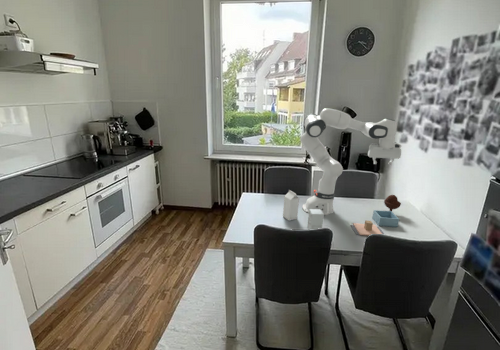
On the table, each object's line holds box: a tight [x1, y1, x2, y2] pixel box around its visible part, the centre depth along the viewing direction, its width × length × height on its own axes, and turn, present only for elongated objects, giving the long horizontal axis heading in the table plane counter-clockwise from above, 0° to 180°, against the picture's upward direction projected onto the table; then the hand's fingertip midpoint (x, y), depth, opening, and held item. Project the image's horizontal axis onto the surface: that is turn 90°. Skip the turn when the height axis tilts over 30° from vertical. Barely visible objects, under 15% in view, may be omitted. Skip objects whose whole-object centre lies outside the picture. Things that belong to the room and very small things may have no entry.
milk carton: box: [282, 189, 300, 221], centre depth 186 cm, size 7×7×19 cm
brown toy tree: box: [383, 194, 402, 212], centre depth 200 cm, size 11×11×15 cm
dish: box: [371, 209, 400, 228], centre depth 187 cm, size 12×12×6 cm
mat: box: [350, 224, 385, 237], centre depth 175 cm, size 18×12×1 cm, turn 87°
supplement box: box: [307, 209, 325, 230], centre depth 172 cm, size 7×7×13 cm
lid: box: [352, 220, 382, 236], centre depth 175 cm, size 14×14×6 cm
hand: (382, 164), depth 185 cm, fingers open, 8 cm apart
